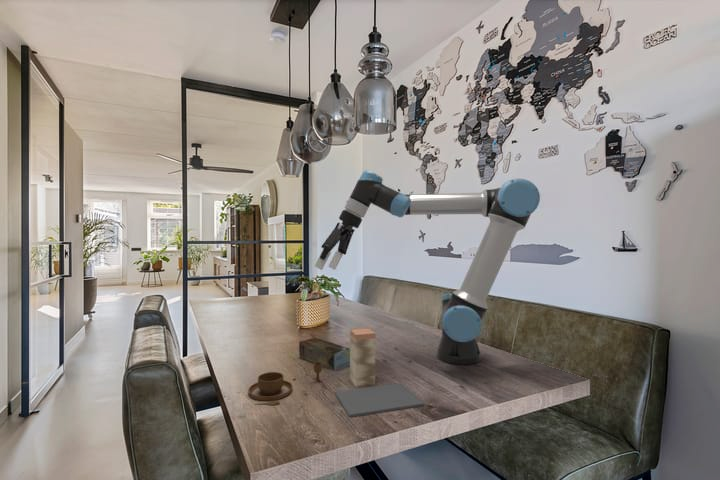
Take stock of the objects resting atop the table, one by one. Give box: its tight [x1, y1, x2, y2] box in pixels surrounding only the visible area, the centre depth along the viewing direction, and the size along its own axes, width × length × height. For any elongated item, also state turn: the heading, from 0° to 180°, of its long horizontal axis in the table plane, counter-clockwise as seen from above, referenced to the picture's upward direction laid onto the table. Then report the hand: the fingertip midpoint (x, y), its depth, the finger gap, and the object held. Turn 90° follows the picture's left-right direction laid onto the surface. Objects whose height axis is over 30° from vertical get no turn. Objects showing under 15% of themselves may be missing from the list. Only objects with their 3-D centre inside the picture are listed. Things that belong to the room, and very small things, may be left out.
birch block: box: [349, 328, 376, 387], centre depth 109 cm, size 6×6×15 cm
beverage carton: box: [298, 337, 350, 371], centre depth 127 cm, size 8×19×7 cm, turn 46°
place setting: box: [248, 362, 323, 406], centre depth 102 cm, size 18×20×6 cm
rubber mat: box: [334, 382, 425, 418], centre depth 97 cm, size 20×14×1 cm
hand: (325, 268), depth 126 cm, fingers open, 13 cm apart
